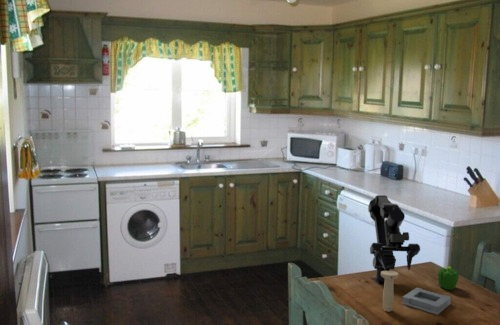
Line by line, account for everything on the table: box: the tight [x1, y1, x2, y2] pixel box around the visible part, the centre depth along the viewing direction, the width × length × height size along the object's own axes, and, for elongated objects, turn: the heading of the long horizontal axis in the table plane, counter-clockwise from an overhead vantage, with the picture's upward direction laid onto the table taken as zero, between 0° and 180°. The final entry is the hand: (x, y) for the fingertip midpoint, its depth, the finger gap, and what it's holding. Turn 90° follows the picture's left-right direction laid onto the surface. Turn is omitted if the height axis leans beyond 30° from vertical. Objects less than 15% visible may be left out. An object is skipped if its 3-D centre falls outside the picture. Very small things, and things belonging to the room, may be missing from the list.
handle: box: [381, 270, 399, 313], centre depth 193 cm, size 5×6×15 cm
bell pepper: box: [437, 265, 460, 291], centre depth 216 cm, size 8×8×10 cm
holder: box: [402, 287, 452, 315], centre depth 200 cm, size 14×13×3 cm
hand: (397, 269), depth 198 cm, fingers open, 9 cm apart
